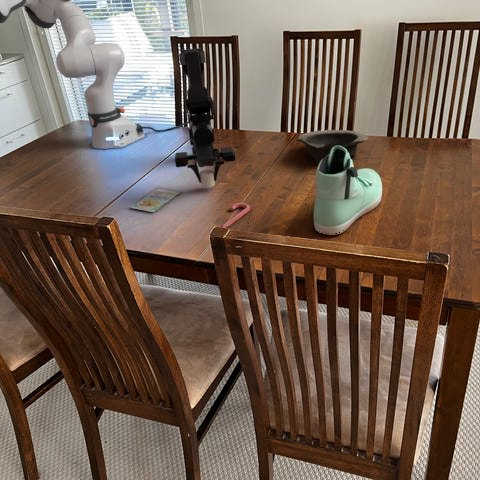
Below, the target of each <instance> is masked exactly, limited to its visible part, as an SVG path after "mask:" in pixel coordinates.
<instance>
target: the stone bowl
mask: <svg viewBox="0 0 480 480" xmlns="http://www.w3.org/2000/svg"><path fill="white" fill-rule="evenodd" d="M368 139H369V137H368V136H367V135H366V134H365V133H363V132H359V131H356V130H347V129H345V130H343V129H325V130H314V131H309V132H305V133H302V134H300V135H299V136H298V138H297V139H296V141H297V142H300V143H301V144H304V145H305V148H306V152H307V153H308V155H309V156H311V157H312V158H313V159H314V162H315V163H316V164H317V165H319V163H320V161H321V160H322V159H324V158H325V157H326V156H327V155H329V154H330V152H331V149H332V148H333V147H334V146H342V147H344V148H345V149H346V150H347V152H348V153H349V156H350V159H354V158H355V157H356V155H357V154H356V153H357V147H358V145H359V144H361V143H364V142H365V141H368Z"/></svg>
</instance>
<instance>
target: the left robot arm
mask: <svg viewBox="0 0 480 480" xmlns="http://www.w3.org/2000/svg"><path fill="white" fill-rule="evenodd" d="M22 8H23V9H24V12H25V13H26V14H27V16H28V18H29V19H30V21H31V22H32V23H33V24H34V25H35V26H37V27H39V28H41V29H45V30H47V29H51V28H53V26H54V25H55V24H56V23H57V20H59V22H60V26H61V29H62V32H63V34H64V37H65V40H66V45H64V47H63V48H62V49H60V50H59V51H58V53H57V55H56V59H55V65H56V68H57V71H58V72H59V73H60V74H61V75H62V76H63V77H64V78H69V79H80V78H87V77H94V76H95V80H94V81H93V82H92V83H91V84H90V85H89V86H88V87H87V88H86V89H85V90H84V93H83V95H84V100H85V104H86V109H87V118H88V122H89V125H90V127H91V128H90V129H91V137H92V138H91V140H92V141H91V147H92V148H94V149H98V150H107V149H121V148H122V149H123V148H124V147H127V146H128V145H131V144H132V143H135V142H137V141H139V140H141V139H143V138H145V137H146V135H145V133H144V130H145V129H146V130H147V129H148V130H152V131H153V132H156V133H163V132H169V131H171V130H175V129H178V128H181V127H183V126H186V125H190V122H188V121H186V122H184V123H181V124H179V125H176V126H173V127H169V128H166V129H156V128H153V127H151V126H142V124H140V123H135V122H134V121H133V120H131V119H129V118H127V117H125V116H123V115H122V114H125V112H126V109H125V108H124V107H123V108H122V107H117V106H116V103H115V96H114V84H115V80H116V78H117V75H118V73H119V72H120V71H121V70H122V69H123V67H124V65H125V58H126V57H125V53H124V51H123V49H122V48H121V47H120V45H118V44H117V43H112V42H100V43H96V39H97V38H96V34H95V31H94V29H93V27H92V25H91V22H90V20H89V19H88V16H87V15H86V13H85V12H84V10H83V9H82V8H81V7H80V6H79V5H77V4H75V3H73V1H72V0H0V24H3V23H5V22H7V20H8V19H9V17H10V16H11V14H12V13H13V12H14V11H17V10H20V9H22ZM2 62H3V56H2V54H1V53H0V64H2Z"/></svg>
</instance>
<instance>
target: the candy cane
mask: <svg viewBox="0 0 480 480" xmlns="http://www.w3.org/2000/svg"><path fill="white" fill-rule="evenodd" d="M238 208H239V209H240V208H244V209H242V210H241V211H240V212H238V213H237V214H235V215H234V216H233V217H232V218H230V219H229V220H227V221H226V222H224V223H223V224H222V225H221V226H220V228H221V227H226V229H227V228H229V227H230V226H231V225H233V224H234V223H236V222H237V221H238V220H240V219H241V218H242V217H244V216H245V215H246V214H248V213H249V212H250V211H251V206H250V204H248V203H246V202H237V203H234V204H231V206H230V207H229V209H230V211H232V212H233V211H235V210H236V209H238Z"/></svg>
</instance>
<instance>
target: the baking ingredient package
mask: <svg viewBox="0 0 480 480" xmlns="http://www.w3.org/2000/svg"><path fill="white" fill-rule="evenodd" d="M180 192H181V191H177V190H176V191H175V190H169V189H164V188H163V189H162V188H156V189H155V190H153V191H152V192H150V193H148V194H147V195H146V196H145V197H144V198H142V199H140V200H139V201H138V202H136V203H134V204H133V205H132V206H130V209H135V210H140V211H145V212H151V213H155V212H157V210H159V209H160V208H161V207H163V206H164V205H165V204H167V203H168V202H169V201H170V200H172V199H174V198H175V197H176V196H177V195H179V194H180Z"/></svg>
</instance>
